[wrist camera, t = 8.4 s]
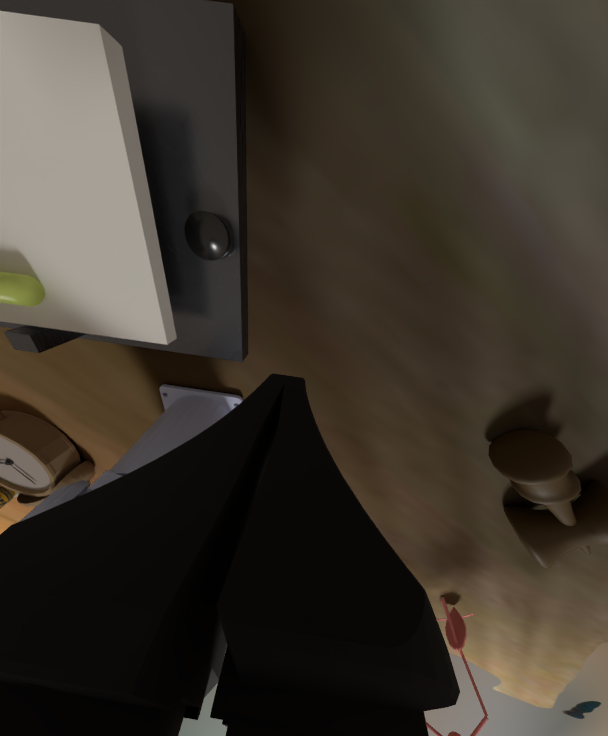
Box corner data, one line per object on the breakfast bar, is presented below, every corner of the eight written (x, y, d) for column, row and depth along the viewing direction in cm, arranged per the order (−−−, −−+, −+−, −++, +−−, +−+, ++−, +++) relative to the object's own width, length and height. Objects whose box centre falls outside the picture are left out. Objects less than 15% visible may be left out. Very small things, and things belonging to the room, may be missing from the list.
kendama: (561, 401, 20) (615, 512, 26) (450, 444, 24) (520, 531, 30) (641, 459, 14) (686, 582, 20) (482, 501, 18) (559, 593, 24)
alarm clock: (-17, 411, 22) (83, 518, 26) (45, 389, 26) (122, 483, 30) (-67, 438, 25) (30, 530, 29) (-4, 415, 30) (72, 496, 34)
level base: (244, 32, 10) (176, -139, 6) (248, 353, 19) (222, 391, 14) (-263, -31, 11) (-726, -244, 6) (-34, 312, 19) (-150, 336, 15)
